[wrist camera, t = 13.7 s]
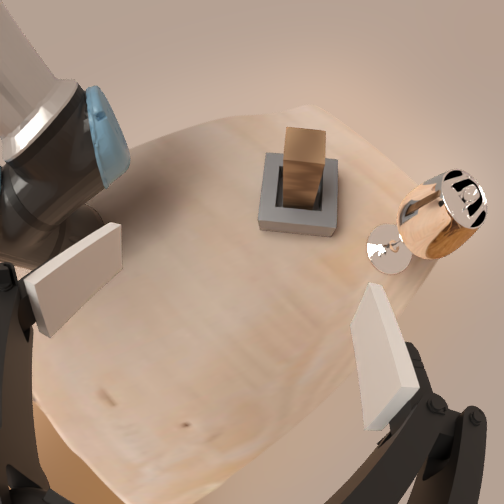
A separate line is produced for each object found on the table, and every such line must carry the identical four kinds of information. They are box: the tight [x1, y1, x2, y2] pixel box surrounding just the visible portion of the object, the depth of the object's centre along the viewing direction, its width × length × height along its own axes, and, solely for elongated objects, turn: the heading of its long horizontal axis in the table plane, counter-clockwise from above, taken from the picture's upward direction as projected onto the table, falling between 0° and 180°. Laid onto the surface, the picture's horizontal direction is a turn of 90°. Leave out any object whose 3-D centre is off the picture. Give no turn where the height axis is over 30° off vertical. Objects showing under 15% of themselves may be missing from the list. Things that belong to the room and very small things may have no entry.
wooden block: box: [283, 127, 326, 210], centre depth 33 cm, size 4×4×14 cm
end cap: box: [258, 153, 338, 237], centre depth 38 cm, size 10×10×4 cm
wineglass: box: [366, 169, 487, 275], centre depth 28 cm, size 8×8×20 cm
